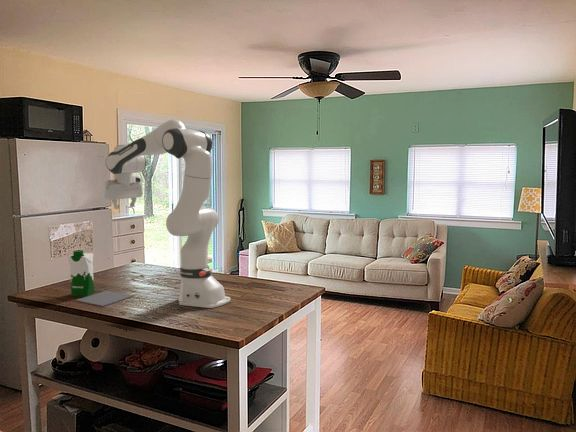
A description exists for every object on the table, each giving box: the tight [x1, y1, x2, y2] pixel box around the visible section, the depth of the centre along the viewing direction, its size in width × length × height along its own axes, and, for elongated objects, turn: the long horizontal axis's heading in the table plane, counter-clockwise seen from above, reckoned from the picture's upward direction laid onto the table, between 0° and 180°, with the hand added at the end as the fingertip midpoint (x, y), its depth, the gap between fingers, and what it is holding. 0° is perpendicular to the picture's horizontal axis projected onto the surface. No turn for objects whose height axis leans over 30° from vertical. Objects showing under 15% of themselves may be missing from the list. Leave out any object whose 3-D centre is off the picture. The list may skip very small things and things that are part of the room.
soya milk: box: [67, 249, 95, 298], centre depth 210 cm, size 9×9×20 cm
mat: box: [75, 290, 134, 307], centre depth 205 cm, size 17×16×1 cm
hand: (124, 207), depth 230 cm, fingers open, 8 cm apart
